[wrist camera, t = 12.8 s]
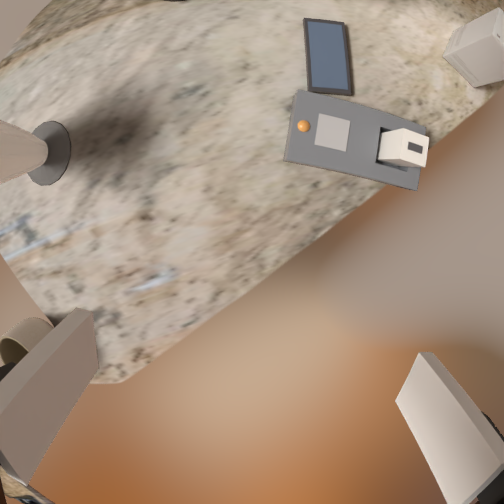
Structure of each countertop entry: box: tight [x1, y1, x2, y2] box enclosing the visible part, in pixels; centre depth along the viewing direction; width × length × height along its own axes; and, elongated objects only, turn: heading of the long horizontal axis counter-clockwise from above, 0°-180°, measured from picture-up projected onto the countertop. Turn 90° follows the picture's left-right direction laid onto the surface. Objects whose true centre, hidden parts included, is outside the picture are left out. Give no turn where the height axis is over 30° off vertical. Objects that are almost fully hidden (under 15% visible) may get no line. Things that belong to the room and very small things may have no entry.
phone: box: [303, 18, 351, 96], centre depth 37 cm, size 13×6×1 cm, turn 1°
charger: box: [376, 128, 429, 167], centre depth 36 cm, size 4×4×9 cm
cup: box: [0, 120, 71, 186], centre depth 30 cm, size 12×12×22 cm
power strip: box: [283, 90, 426, 191], centre depth 39 cm, size 10×20×4 cm, turn 81°
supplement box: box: [443, 7, 504, 88], centre depth 28 cm, size 9×9×15 cm
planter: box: [0, 318, 54, 365], centre depth 45 cm, size 12×12×11 cm
